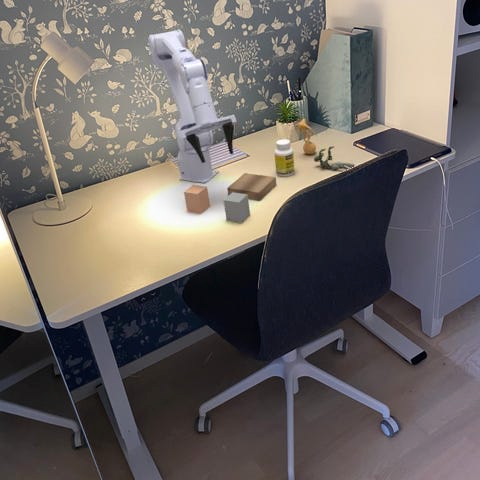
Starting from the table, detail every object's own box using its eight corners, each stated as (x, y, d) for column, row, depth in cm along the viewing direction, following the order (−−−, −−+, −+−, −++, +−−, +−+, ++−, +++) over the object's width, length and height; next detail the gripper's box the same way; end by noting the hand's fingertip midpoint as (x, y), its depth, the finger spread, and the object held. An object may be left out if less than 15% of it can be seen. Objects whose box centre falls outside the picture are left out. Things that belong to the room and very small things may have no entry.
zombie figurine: (358, 155, 149) (309, 149, 157) (359, 177, 152) (311, 170, 161) (366, 147, 152) (318, 142, 161) (367, 169, 156) (320, 163, 164)
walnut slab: (228, 197, 152) (227, 187, 150) (246, 182, 159) (244, 173, 157) (260, 202, 147) (259, 192, 145) (276, 186, 154) (275, 177, 153)
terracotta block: (187, 211, 146) (183, 191, 143) (196, 204, 150) (193, 184, 147) (201, 214, 144) (197, 193, 141) (210, 206, 148) (207, 186, 144)
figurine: (324, 154, 169) (322, 116, 162) (312, 161, 165) (310, 123, 159) (303, 149, 174) (301, 112, 168) (291, 155, 171) (288, 118, 164)
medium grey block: (226, 220, 140) (223, 200, 136) (235, 212, 143) (232, 192, 140) (241, 223, 137) (238, 202, 134) (250, 215, 141) (247, 194, 138)
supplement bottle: (288, 178, 157) (285, 146, 152) (272, 175, 160) (269, 143, 155) (298, 171, 160) (296, 139, 155) (282, 168, 163) (280, 137, 158)
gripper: (172, 113, 137) (187, 165, 137) (227, 95, 135) (242, 148, 135) (179, 117, 144) (193, 167, 144) (231, 100, 142) (245, 150, 142)
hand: (217, 158), depth 140 cm, fingers open, 7 cm apart
